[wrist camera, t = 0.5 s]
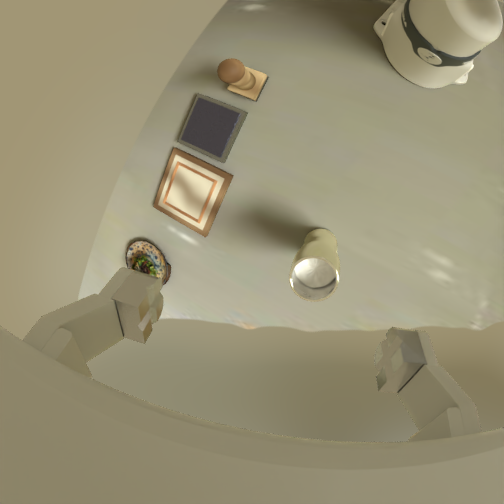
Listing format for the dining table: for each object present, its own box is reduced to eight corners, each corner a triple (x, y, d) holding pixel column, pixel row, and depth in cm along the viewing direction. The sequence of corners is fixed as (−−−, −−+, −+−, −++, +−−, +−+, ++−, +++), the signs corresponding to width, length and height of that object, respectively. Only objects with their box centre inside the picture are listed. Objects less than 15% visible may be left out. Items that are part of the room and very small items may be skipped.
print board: (176, 147, 52) (172, 147, 51) (233, 175, 51) (231, 176, 50) (155, 205, 57) (152, 207, 56) (207, 235, 56) (204, 237, 55)
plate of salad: (180, 262, 60) (161, 276, 54) (158, 296, 65) (140, 311, 59) (141, 227, 60) (119, 236, 54) (123, 263, 66) (103, 274, 59)
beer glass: (293, 241, 52) (276, 274, 38) (323, 217, 49) (318, 243, 35) (317, 270, 52) (309, 312, 39) (347, 248, 49) (350, 284, 36)
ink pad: (201, 94, 47) (197, 92, 45) (248, 112, 46) (244, 111, 44) (181, 141, 51) (176, 141, 50) (225, 162, 50) (221, 162, 49)
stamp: (243, 68, 43) (218, 48, 33) (268, 77, 43) (249, 57, 32) (232, 91, 45) (204, 77, 35) (256, 101, 45) (234, 88, 35)
